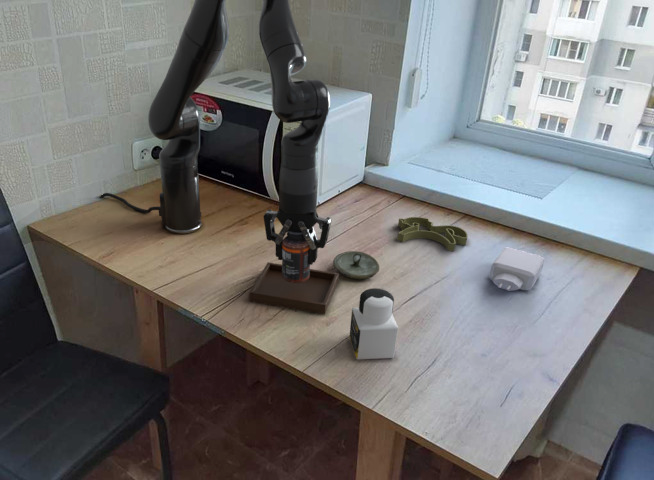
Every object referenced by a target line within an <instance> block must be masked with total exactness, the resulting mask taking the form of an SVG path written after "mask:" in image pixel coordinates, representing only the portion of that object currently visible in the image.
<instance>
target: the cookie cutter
mask: <svg viewBox="0 0 654 480" xmlns="http://www.w3.org/2000/svg"><path fill="white" fill-rule="evenodd" d="M397 226H398V227H399V228H400V231H399V232H398V233H397V241H398V242H402V243H404V242H406V241H409V240H412V239H428V240H432V241H435V242H438V243H440V244H442V245H443V246H444V247H445V248H446V249H447V251H448V252H455V248H456V245H461V246H467V242H468V233H467V231H466V230H465V229H464V228H462V227H459V226H456V225H448V224H447V225H446V224H444V225H434V222H433V221H431V220H430V218H426V217H420V216H409V217H405V218H398V224H397ZM420 226H425V227H426V228H427V229H428V230H420ZM442 234H444V235H442Z"/></svg>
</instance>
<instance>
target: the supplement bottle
mask: <svg viewBox="0 0 654 480" xmlns="http://www.w3.org/2000/svg"><path fill="white" fill-rule="evenodd" d="M309 249H310V246H309V244H308V242H307V241H306V240H305V238H304V235H303V233H300V232H292V231H287V233H286V235H285V236H284V238H283V242H282V260H281V264H282V277H283V278H284V280H286V281H288V282H291V283H301V282H304V281H306V280H307V279H308V278H309V275H310V269H311V265H310V264H309Z"/></svg>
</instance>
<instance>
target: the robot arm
mask: <svg viewBox="0 0 654 480" xmlns="http://www.w3.org/2000/svg"><path fill="white" fill-rule="evenodd" d="M229 26H230V25H229V18H228V14H227V8H226V0H194V2H193V5H192V8H191V10H190V13H189V15H188V18H187V20H186V22H185V25H184V28H183V29H182V32H181V35H180V37H179V40H178V44H177V46H176V49H175V52H174V55H173V57H172V59H171V62H170V65H169V67H168V69H167V72H166V75H165V76H164V79H163V81H162V83H161V85H160V86H159V89H158V90H157V92H156V95H155V97H154V98H153V99H152V102H151V104H150V107H149V110H148V114H147V123H148V127H149V131H150V132H151V134H152V135H153V136H154V137H155V138H157V139H159V140H161V141H168V142H167V143H166V145H165V146H164V147H163V148H162V149H161V150H160V152H159V155H158V159H159V169H160V170H159V171H160V180H161V192H160V193H159V195H158V196H159V204H160V205H159V206H150V207H148V209H145V208H141V207H137V206H135V205H133V204H131V203H130V202H128V201H127V200H126V199H125V198H123V197H121V196H118V195H116V194H113V193H111V192H104V193H102V194H103V195H102V194H101V195H100V196H99V198H100V199H103V198H105V197H109V198H113V199H115V200H117V201H120V202H122V203H123V204H124V205H125V206H126V207H128V208H129V209H132V210H134V211H137V212H139V213H144V214H150V213H152V211H158V216H159V217H161V226H162V229H163V230H166V231H168V233H169V232H170V233H173V234H176V235H177V234H178V235H179V234H180V235H184V234H185V235H186V234H192V233H194V232H197V231H199V230H200V229H201V227H202V226H203V225H202V224H203V223H202V218H203V216H202V211H201V197H200V196H201V195H200V181H199V165H198V156H199V154H200V150H201V119H200V113H199V109H198V106H197V104H196V102H195V100H194V99H193V98H192V97H191V96H192V95H193V94H194V92H195V91H196V90H197V89H198V88H199V87H200V86H201V85H202V84H203V83H204V82H205V81H206V80H207V79H208V77H209V76H210V75H212V73H213V71H215V69H216V67H217V66H218V64H219V62H220V61H221V58H222V56H223V53H224V52H225V49H226V47H227V45H228V42H229V38H230V27H229ZM258 37H259V43H260V45H261V48H262V51H263V54H264V56H265V60H266V62H267V66H268V69H269V70H268V71H269V77H270V89H271V90H270V91H271V106H272V110H273V112H274V114H275V116H276V117H277V118H278V119H279V120H280V121H281V122H282V123H285V124H292V123H299V122H300V123H299V124H298V126H297V127H296V128H294V129H293V130H291V131H288V132H286V133H285V134H283V136H282V138H281V141H280V142H281V144H280V145H281V146H280V170H279V177H278V187H279V188H278V210H277V211H273V210H271V209H267V210H266V212H265V213H264V214H263V222H264V229H265V238H266V240H267V241H268V242H271V241H272V242H274V244H275V257H276V258H277V260H278V261H282V242H283V239H284V238H285V237H286V236H287V231H292V232H300V233H303V235H304V238H305V240H306V241H307V242H308V244H309V246H310V249H309V264H310V266H311V265H313V264H314V263H316V261H317V259H318V252H319V251H318V250H319V249H324V248H325V246H326V245H327V243H328V238H329V234H330V231H331V225H332V220H333V219H332V218H331V217H329V216H328V217H326V218H323V217H321V216H319V215H318V212H317V208H318V207H317V206H318V189H319V188H318V186H319V169H318V168H319V167H318V162H319V161H318V159H319V144H320V141H321V137H322V135H323V131H324V129H325V125H326V122H327V119H328V117H329V112H330V107H331V95H330V90H329V88H328V86H327V85H326V83H325V82H324V81H323V80H320V79H318V78H312V79H303V80H295V81H292V78H291V77H292V76H295V75H296V74H298V73H300V72H301V71H302V70H303V69H304V68H305V67H306V64H307V55H306V52H305V49H304V46H303V43H302V40H301V38H300V34H299V33H298V29H297V27H296V24H295V21H294V17H293V14H292V9H291V5H290V0H262V4H261V10H260V15H259V20H258ZM276 219H277V220H278V221H279V224H281V226H282V227H281V229H280V231H279V233H276V227H275V221H276ZM316 224H318V227H319V230H321V232H320V237H319V239H318V237H317V235H316V231H315V228H314V226H315V225H316Z"/></svg>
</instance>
